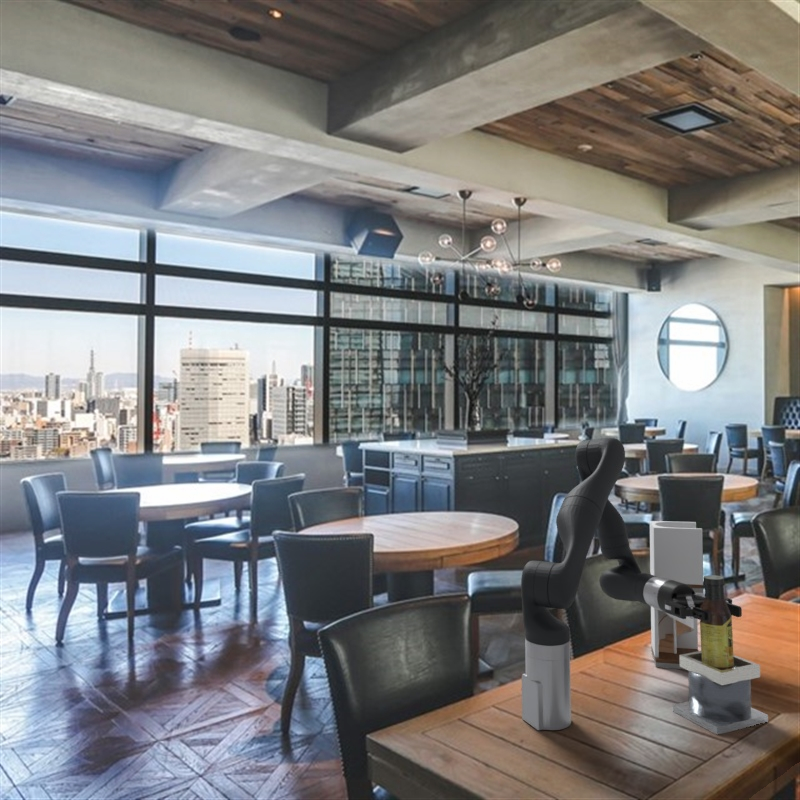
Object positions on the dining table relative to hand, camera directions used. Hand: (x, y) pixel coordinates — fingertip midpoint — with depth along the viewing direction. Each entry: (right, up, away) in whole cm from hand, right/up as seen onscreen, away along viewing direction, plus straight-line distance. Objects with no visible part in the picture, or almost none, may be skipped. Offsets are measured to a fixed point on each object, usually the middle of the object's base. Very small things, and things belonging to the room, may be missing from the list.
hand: (725, 614), depth 151 cm
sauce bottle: (-1, -13, +2) cm, 13 cm away
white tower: (+3, -22, +35) cm, 41 cm away
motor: (0, -22, +2) cm, 22 cm away
